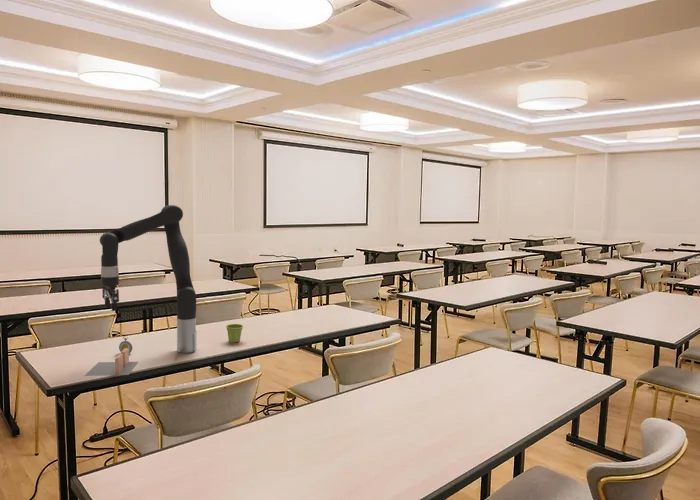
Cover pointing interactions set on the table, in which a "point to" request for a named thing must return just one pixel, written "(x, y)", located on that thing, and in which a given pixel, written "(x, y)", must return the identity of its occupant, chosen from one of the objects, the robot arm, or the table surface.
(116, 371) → the tile near
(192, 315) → the robot arm
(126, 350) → the tile far
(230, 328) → the plant pot
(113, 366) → the slate board
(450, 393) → the table surface
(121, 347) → the pocket watch
